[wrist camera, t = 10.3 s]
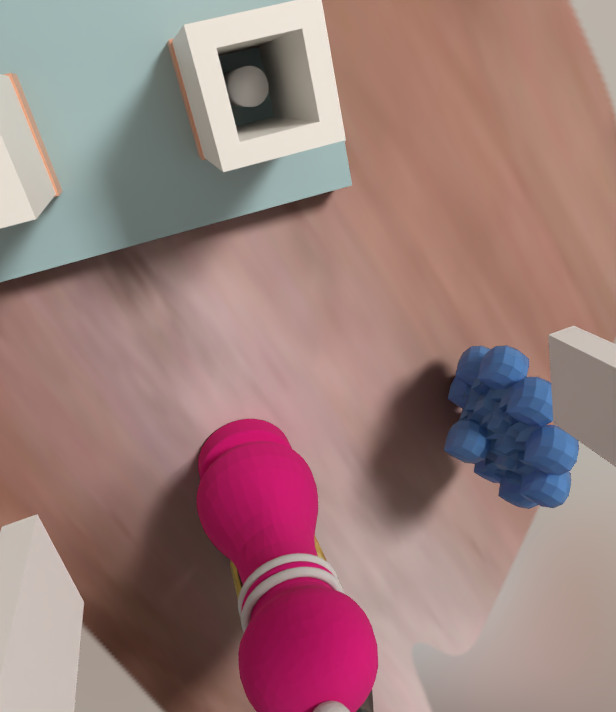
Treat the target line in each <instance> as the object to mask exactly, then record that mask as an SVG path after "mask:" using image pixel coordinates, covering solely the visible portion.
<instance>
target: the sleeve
mask: <svg viewBox="0 0 616 712" xmlns="http://www.w3.org/2000/svg"><path fill="white" fill-rule="evenodd" d="M167 45H168V48H169V52H170V55H171V59H172V62H173V66H174V69H175V73H176V76H177V80H178V83H179V87H180V91H181V94H182V98H183V101H184V105H185V108H186V112H187V115H188V119H189V122H190V126H191V130H192V133H193V137H194V140H195V144H196V147H197V151H198V154H199V158H200V159H202V160H206V159H207V160H208V161H209V162H210V163H212V164H213V165H214V166H216V167H217V168H218V169H220V170H221V171H222V172H226V171H230V170H234V169H238V168H241V167H245V166H249V165H253V164H257V163H260V162H264V161H268V160H272V159H276V158H279V157H283V156H287V155H291V154H295V153H298V152H302V151H306V150H310V149H314V148H318V147H321V146H325V145H329V144H333V143H337V142H340V141H344V140H346V139H345V133H344V127H343V122H342V116H341V110H340V104H339V98H338V93H337V87H336V81H335V75H334V69H333V64H332V58H331V52H330V46H329V40H328V35H327V29H326V23H325V17H324V11H323V6H322V0H294V1H289V2H285V3H280V4H276V5H271V6H267V7H262V8H258V9H253V10H248V11H244V12H239V13H235V14H230V15H226V16H221V17H217V18H212V19H208V20H203V21H198V22H194V23H189V24H185V25H183V27H182V28H181V29H180V31H179V32H178V34H177V35H176V36H175V38H174V39H170V40H168V42H167ZM255 47H259V49H260V54H261V58H262V63H263V67H264V72H265V76H266V78H267V80H268V85H269V89H268V90H269V94H270V99H271V103H272V108H273V112H274V117H271V118H267V119H263V120H259V121H255V122H251V123H247V124H243V125H239V126H236V125H235V120H234V116H233V112H232V108H231V104H230V100H229V96H228V92H227V88H226V84H225V80H224V76H223V72H222V68H221V64H220V60H219V56H220V55H225V54H229V53H233V52H238V51H242V50H246V49H251V48H255Z"/></svg>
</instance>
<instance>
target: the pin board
mask: <svg viewBox="0 0 616 712" xmlns="http://www.w3.org/2000/svg"><path fill="white" fill-rule="evenodd" d="M289 1H294V0H0V74H2V75H4V74H8V73H13V74H17V77H18V79H19V82H20V84H21V87H22V89H23V92H24V94H25V97H26V99H27V102H28V105H29V107H30V110H31V112H32V115H33V117H34V120H35V122H36V125H37V127H38V130H39V133H40V135H41V138H42V140H43V143H44V145H45V148H46V150H47V153H48V155H49V158H50V161H51V163H52V166H53V168H54V171H55V173H56V176H57V178H58V181H59V184H60V186H61V189H62V193H61V194H60V195H59V196H56V197H53V199H52V200H51V201H50V202H49V204H48V205H47V206H46V208H45V209H44V210H43V211H42V213H41V214H40V215H39V216H38V218H37V219H35V220H31V221H27V222H23V223H20V224H16V225H12V226H8V227H4V228H1V229H0V282H3V281H7V280H11V279H14V278H18V277H21V276H25V275H29V274H32V273H36V272H40V271H43V270H47V269H50V268H54V267H58V266H61V265H65V264H69V263H72V262H76V261H79V260H83V259H87V258H90V257H94V256H98V255H101V254H105V253H108V252H112V251H116V250H119V249H123V248H126V247H130V246H134V245H137V244H141V243H145V242H148V241H152V240H155V239H159V238H163V237H166V236H170V235H174V234H177V233H181V232H184V231H188V230H192V229H195V228H199V227H203V226H206V225H210V224H213V223H217V222H221V221H224V220H228V219H232V218H235V217H239V216H242V215H246V214H250V213H253V212H257V211H261V210H264V209H268V208H271V207H275V206H279V205H282V204H286V203H290V202H293V201H297V200H300V199H304V198H308V197H311V196H315V195H319V194H322V193H326V192H329V191H333V190H337V189H340V188H344V187H348V186H351V185H352V182H351V176H350V170H349V165H348V159H347V153H346V147H345V142H344V141H340V142H337V143H333V144H329V145H325V146H321V147H318V148H314V149H310V150H306V151H302V152H298V153H295V154H291V155H287V156H283V157H279V158H276V159H272V160H268V161H264V162H260V163H257V164H253V165H249V166H245V167H241V168H238V169H234V170H230V171H226V172H222V171H221V170H220V169H218V168H217V167H216V166H214V165H213V164H212V163H210V162H209V161H208V160H207V159H206V160H202V159H200V158H199V154H198V151H197V147H196V144H195V140H194V137H193V133H192V130H191V126H190V122H189V119H188V115H187V112H186V108H185V105H184V101H183V98H182V94H181V91H180V87H179V83H178V80H177V76H176V73H175V69H174V66H173V62H172V59H171V55H170V52H169V48H168V45H167V42H168V40H170V39H174V38H175V36H176V35H177V34H178V32H179V31H180V29H181V28H182V27H183V25H185V24H189V23H194V22H198V21H203V20H208V19H212V18H217V17H221V16H226V15H230V14H235V13H239V12H244V11H248V10H253V9H258V8H262V7H267V6H271V5H276V4H280V3H285V2H289ZM219 60H220V64H221V68H222V72H223V76H224V80H225V84H226V88H227V92H228V96H229V100H230V104H231V108H232V112H233V116H234V120H235V125H236V126H239V125H243V124H247V123H251V122H255V121H259V120H263V119H267V118H271V117H274V112H273V108H272V103H271V99H270V94H269V90H268V89H269V85H268V80H267V78H266V76H265V72H264V67H263V63H262V58H261V54H260V49H259V47H255V48H251V49H246V50H242V51H238V52H233V53H229V54H225V55H220V56H219Z"/></svg>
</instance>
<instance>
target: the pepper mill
mask: <svg viewBox="0 0 616 712" xmlns="http://www.w3.org/2000/svg"><path fill="white" fill-rule="evenodd" d="M198 470H199V475H200V480H201V481H200V484H199V487H198V491H197V510H198V515H199V518H200V521H201V524H202V527H203V529H204V531H205V533H206V534H207V536H208V537H209V539H210V540H211V542H212V543H213V544H214V546H215V547H216V548H217V549H218V550H219V551H220V552H221V553H223V554H224V555H225V556H226V557H227V558H229V559H230V560H231V561H232V562H233V563H234V565H235V566H236V568H237V570H238V572H239V575H240V578H241V581H242V583H243V587H242V588H241V590H240V594H239V597H238V612H239V615H240V618H241V626H242V630H243V632H244V635H243V637H242V639H241V642H240V647H239V653H238V655H239V671H240V678H241V681H242V684H243V687H244V690H245V693H246V696H247V698H248V700H249V702H250V703H251V704H252V706H253V707H254V709H255V710H256V711H257V712H356V711H357V710H358V709H359V708H360V706H361V705H362V704H363V703H364V702H365V700H366V698H367V697H368V695H369V694H370V692H371V690H372V687H373V685H374V682H375V679H376V674H377V669H378V653H377V643H376V639H375V636H374V633H373V629H372V626H371V624H370V622H369V619H368V618H367V616H366V614H365V612H364V611H363V610H362V609H361V608H360V607H359V605H358V604H357V603H356V602H355V601H354V600H352V599H351V598H350V597H349V596H347V595H345V594H344V591H343V588H342V586H341V584H340V582H339V581H338V577H337V574H336V572H335V570H334V569H333V567H332V566H331V565H330V564H329V563H328V562H326V561H325V560H324V559H322V558H320V557H318V555H317V551H316V548H315V539H314V535H315V527H316V521H317V515H318V494H317V488H316V484H315V481H314V478H313V475H312V472H311V470H310V468H309V466H308V464H307V463H306V462H305V460H304V459H303V458H302V457H301V456H300V455H299V454H298V453H296V452H295V451H294V450H292V448H291V446H290V444H289V442H288V440H287V438H286V436H285V435H284V433H283V432H282V431H281V430H280V429H279V428H278V427H276V426H274V425H273V424H271V423H269V422H266V421H263V420H257V419H242V420H238V421H234V422H231V423H228V424H226V425H224V426H223V427H221V428H219V429H218V430H217V431H215V432H214V433H213V434H212V435H211V436H210V437H209V438H208V439H207V441H206V442H205V444H204V445H203V447H202V449H201V452H200V455H199V458H198Z"/></svg>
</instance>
